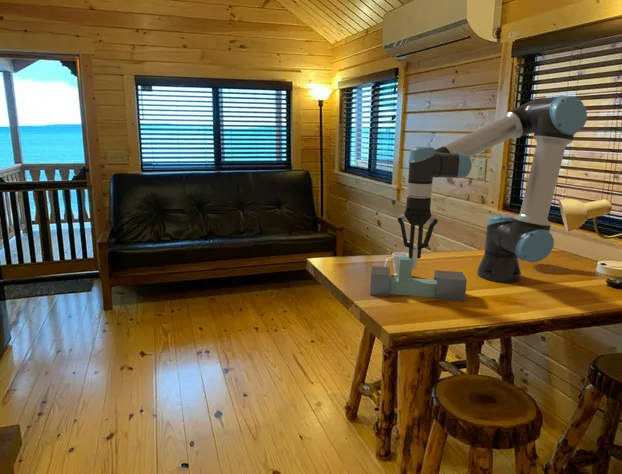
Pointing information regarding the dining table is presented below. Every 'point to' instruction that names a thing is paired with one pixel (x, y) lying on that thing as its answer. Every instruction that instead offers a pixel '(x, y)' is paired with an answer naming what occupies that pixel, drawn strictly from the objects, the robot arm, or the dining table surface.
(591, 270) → the dining table surface
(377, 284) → the socket
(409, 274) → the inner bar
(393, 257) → the cup
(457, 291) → the gray block
